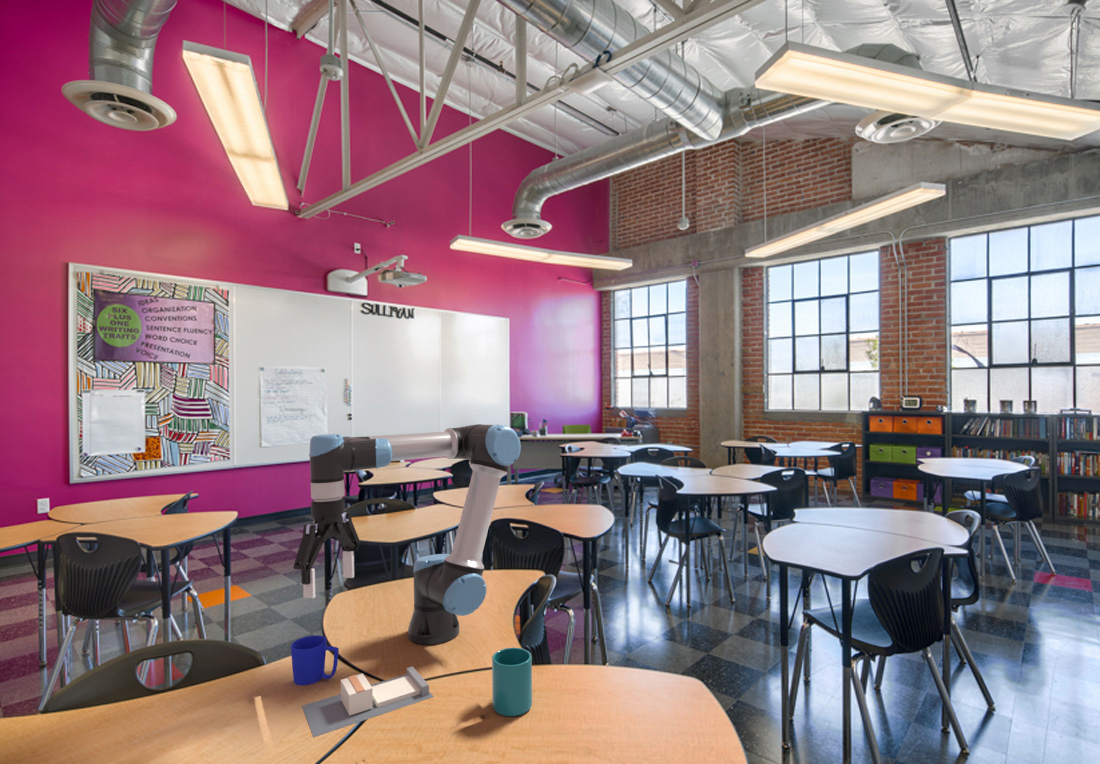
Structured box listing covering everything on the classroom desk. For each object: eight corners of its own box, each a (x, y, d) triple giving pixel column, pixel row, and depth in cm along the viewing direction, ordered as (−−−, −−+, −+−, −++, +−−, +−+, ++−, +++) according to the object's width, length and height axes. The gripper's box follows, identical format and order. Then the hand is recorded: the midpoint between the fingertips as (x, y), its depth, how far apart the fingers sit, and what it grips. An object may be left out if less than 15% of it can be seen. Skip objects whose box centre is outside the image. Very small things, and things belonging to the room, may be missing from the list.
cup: (535, 689, 129) (535, 642, 130) (529, 718, 117) (528, 666, 118) (498, 688, 130) (498, 641, 131) (488, 717, 118) (488, 665, 119)
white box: (362, 692, 126) (362, 672, 127) (372, 708, 120) (372, 687, 120) (340, 699, 124) (340, 678, 124) (349, 715, 117) (349, 694, 117)
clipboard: (412, 676, 136) (412, 663, 136) (433, 701, 125) (433, 687, 125) (301, 711, 122) (301, 695, 122) (313, 743, 110) (313, 726, 110)
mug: (327, 694, 128) (327, 652, 129) (283, 690, 131) (283, 648, 131) (347, 677, 136) (347, 637, 137) (305, 673, 139) (305, 634, 139)
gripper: (349, 488, 143) (351, 568, 142) (274, 509, 119) (276, 605, 119) (373, 489, 140) (375, 570, 140) (301, 510, 117) (304, 608, 116)
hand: (330, 586), depth 129 cm, fingers open, 13 cm apart
